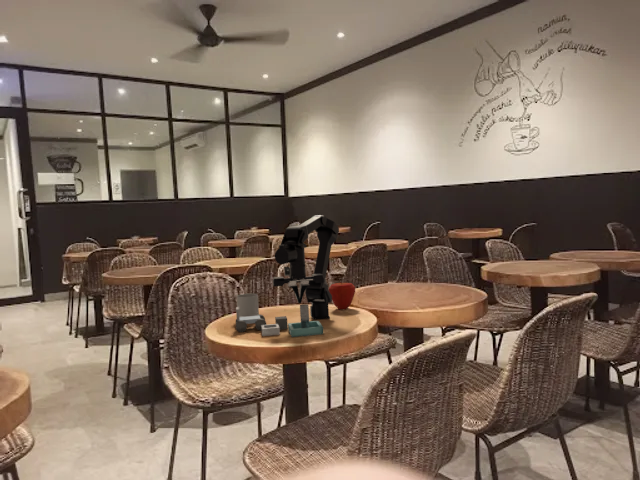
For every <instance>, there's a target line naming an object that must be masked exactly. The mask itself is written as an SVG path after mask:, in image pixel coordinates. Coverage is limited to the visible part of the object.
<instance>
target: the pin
mask: <svg viewBox="0 0 640 480" xmlns="http://www.w3.org/2000/svg"><path fill="white" fill-rule="evenodd" d="M309 307H310V306H309V304H308V303H307V304H306V303H303V304H302V303H301V304H299V312H300V313H299V314H300V316H299V317H300V322H301V328H310V324H309V321H310V311H309V310H310V308H309Z"/></svg>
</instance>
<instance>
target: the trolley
mask: <svg viewBox="0 0 640 480" xmlns="http://www.w3.org/2000/svg"><path fill="white" fill-rule="evenodd" d="M235 312H236V313H235V314H236V319H235V330H236V331H237V332H239V333H244V332H246V330H247V329H248V325H250V324H254V325H255V328H256V330H258V331H260V332H262V330H261V325H267V321H266V318H265V316H264V315H263V314H260V313H259V315H257V316H247V317H243V316H239V307H237V306H236V307H235Z"/></svg>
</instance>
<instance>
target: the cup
mask: <svg viewBox="0 0 640 480" xmlns="http://www.w3.org/2000/svg"><path fill="white" fill-rule="evenodd" d="M236 307H239V316H243V317H247V316H257V315H259V314H260V311H259V310H260V309H259V295H258V293H242V294H241V293H240V294H238V295H236Z"/></svg>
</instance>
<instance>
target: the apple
mask: <svg viewBox="0 0 640 480" xmlns="http://www.w3.org/2000/svg"><path fill="white" fill-rule="evenodd" d="M328 290H329V292H330V294H331V295H332V301H331V302H332V303H333V304H334V306H335V307H336V308H337V309H338V310H342V309H344V310H347V309H348V308H349V307H350V306H351V305H352V303H353V300H354V297H355V294H356V286H355V285H354V284H353V283H351V282H343V281H341V282H337V283H332V284H330V285H329V286H328ZM346 308H347V309H346Z"/></svg>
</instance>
